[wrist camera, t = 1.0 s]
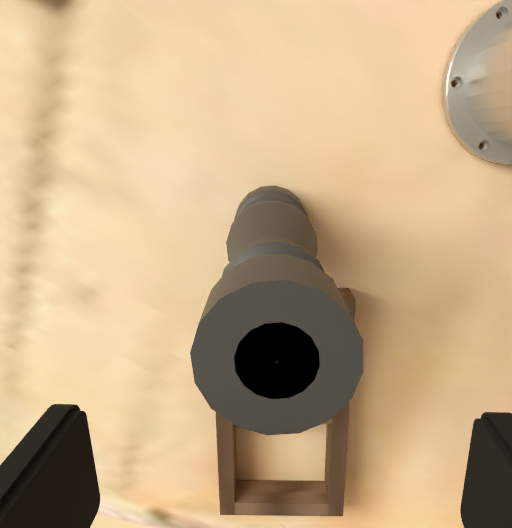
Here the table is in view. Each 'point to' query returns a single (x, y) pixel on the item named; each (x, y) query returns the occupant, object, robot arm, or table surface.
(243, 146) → the table surface
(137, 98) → the table surface
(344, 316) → the candle holder
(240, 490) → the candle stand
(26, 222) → the table surface
